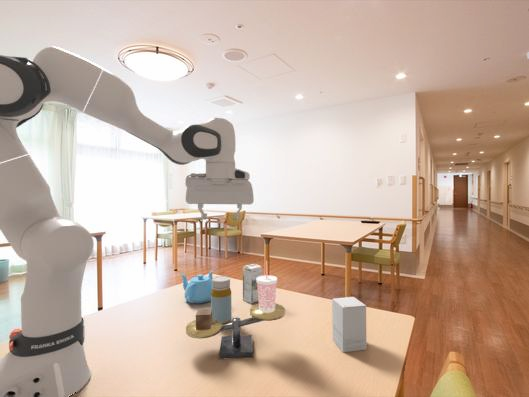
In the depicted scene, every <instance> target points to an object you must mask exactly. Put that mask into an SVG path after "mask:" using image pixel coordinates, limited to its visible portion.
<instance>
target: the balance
mask: <svg viewBox="0 0 529 397" xmlns="http://www.w3.org/2000/svg"><path fill="white" fill-rule="evenodd" d="M249 313H250V314H249V315H250V316H251V317H249V318H245V319H241V318H240V317H233V318H231V322H230V323H229V324H225V325H222V322H221V321H220V320H218V319H214V318H212V325H211V329H198V330H196V319H195V320H192V321H190V322H189V323H187V325H186V326H185V333H186V335H187V336H188V337H190V338H193V339H200V340H201V339H208V338H211V337H214V336H216V335H218V334H220V333H221V332H225V331H229V330H231V335H225V336H221V338H220V339H221V340H220V345H219V352H218V353H219V355H218V357H219V358H218V359H219V360H226V359H227V360H229V359H245V358H247V359H248V358H254V348H253V336H252V334H247V335H245V334H244V335H241V334H242V332H241V327H244V326H249V325H252V324H256V323H260V322H263V321H264V322H265V321H266V322H270V321H277V320H280V319H282V318H283V317H285V315H286V309H285V307H284V306H283V305H282V304H279V303H277V302H275V310H274V311H273V312H270V313H264V312H261V311H260V310H259V303H256V304H254V305H252V306H251V307H250V309H249Z"/></svg>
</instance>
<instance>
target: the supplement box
mask: <svg viewBox="0 0 529 397" xmlns="http://www.w3.org/2000/svg"><path fill="white" fill-rule="evenodd" d="M331 316H332V340H333V342H334V343H335V344H336V346H338V348H339V349H340V350H341V351H342V352H343V353H345V352H346V353H348V352H355V351H356V352H358V351H366V350H367V305H366V304H364V303H363V302H362V301H360V300H359V299H357V298H356V296H346V297H337V298H334V297H333V298H332V315H331Z"/></svg>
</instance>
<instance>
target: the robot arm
mask: <svg viewBox="0 0 529 397" xmlns="http://www.w3.org/2000/svg"><path fill="white" fill-rule="evenodd" d="M48 102H57V103H61V104H64V105H67V106H69V107H72V108H73V109H76V110H77V111H79V112H82V113H84V114H86V115H88V116H90V117H92V118H95V119H97V120H99V121H101V122H104V123H107V124H109V125H111V126H114V127H115V128H118V129H120V130H122V131H125V132H127V133H128V134H131V135H132V136H134V137H136V138H138V139H140V140H141V141H143V142H145V143H147V144H149V145H150V146H153V147H154V148H156V149H158V150H159V152H161V153H162V154H163V155H164V156H165V157H166V158H167V159H168V160H170V162H171V163H173V164H175V165H178V166H179V165H183V166H184V165H187V164H190V163H192V162H196V161H198V160H204V161H205V173H196V172H195V173H190V174H188V175H187V176H186V177H185V186H186V189H185V191H186V192H185V202H186V203H187V204H188V205H197V210H198V211H199V213H200V214H201V217H200V218H201V220H203V221H205V220H208V213H206V212H204V209H203V208H204V205H237V206H236V208H237V209H238V210H237V211H236V212H235V213H233V215H232V217H233V218H232V219H233V221H238V220H239V213H240V212H241V211H242V208H243V205H252V204H253V203H254V200H255V199H254V189H253V186H252V185H253V184H252V183H251V181H250V173H249V172H248V171H245V170H242V169H238V168H236V161H235V153H236V132H235V128H234V126H233V123H232V122H231V121H229V120H228V119H224V118H220V117H211V118H210V119H209V120H207V121H205V122H201V123H197V124H195V123H194V124H190V125H187V126H185V127H183V128H182V129H179V130H169V129H167V128H166V127H164V126H162V125H161V124H159V123H157V122H156V121H154V120H152V119H151V118H150V117H147V116H146V115H145V114H143V112H141V110H140V109H139V107H138V104H137V101H136V96H135V93H134V91H133V90H132V88H131V86H129V85H128V84H127V83H126V82H125V81H124V80H122V79H121V78H120V77H119V76H117V75H115V74H114V73H112V72H110V71H109V70H107V69H105V68H104V67H102V66H100V65H98V64H96V63H94V62H92V61H90V60H89V59H87V58H84V57H81V56H80V55H78V54H75V53H73V52H70V51H68V50H65V49H63V48H60V47H57V46H47V47H45V48H43V49H41V50H40V51H38V52H37V53H36V54H35V56H34V58H33V60H32V59H31V58H28V57H23V56H10V55H9V56H8V55H3V54H1V55H0V231H1V233H2V234H3V236H4V238H5V239H6V241H7V242H8V243H9V245H10V246H11V248H12V249H13V251H14V253H15V254H16V255H17V256H18V257H19V258H21V259H22V260H24V261H26V276H25V282H24V288H23V293H22V294H21V297H20V310H21V311H20V312H21V313H20V318H21V319H20V320H21V321H20V322H21V325H20V326H21V328H15V329H13V330H12V331H11V332H10V334H9V342H8V350H9V352H7V353H6V354H5V355H3V357H1V358H0V397H68V396H69V395H71V394H73V393H75V392H76V393H77V392H79V391H80V390H81V389H83V387H85V386H86V384H87V383H88V382H89V380H90V378H91V375H92V373H91V372H92V371H91V370H90V368H89V365H88V362H87V359H86V358H87V357H86V353H85V348H84V343H85V336H86V331H85V330H86V329H85V320H84V318H83V317H82V288H83V287H82V286H83V285H82V284H83V280H84V275H85V270H86V265H87V262H88V260H89V259H90V257H91V255H92V254H93V250H94V239H93V236H92V235H91V233H90V232H89V231H88V230H87V229H86V228H85V227H84V226H82V225H81V224H80V223H78V222H77V221H73V220H69V219H64V218H63V217H62V216H61V215H60V212H59V211H58V209H57V207H56V205H55V202H54V199H53V196H52V193H51V188H50V186H49V183H48V182H47V181H46V178H45V177H44V176H43V175H42V173H41V171H40V169H39V168H38V167H37V164H36V163H35V162H34V160H33V159H32V157H31V156H30V154H29V152H28V151H27V149H26V148H25V146H24V144H23V142H22V141H21V140H20V138H19V135H18V133H17V128H19V127H20V126H22V125H23V124H25V123H26V122H28V121H30V120H32V119H33V118H35V117H36V116H37V115H39V113H40V112H41V111H42V109H43V107H44V104H45V103H48ZM76 393H75V394H76ZM73 395H74V394H73Z"/></svg>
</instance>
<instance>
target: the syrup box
mask: <svg viewBox="0 0 529 397" xmlns="http://www.w3.org/2000/svg"><path fill="white" fill-rule="evenodd" d="M262 271H263V267H262V266H261V265H259V264H257V263H251V264H248V265H246V264H245V265H244V266H242V301H244V302H246V303H249V304H251V305H252V304H255V303H259V301H258V287H257V282H256V281H257V280H256V278H257V277H259V276H263V272H262Z"/></svg>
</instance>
